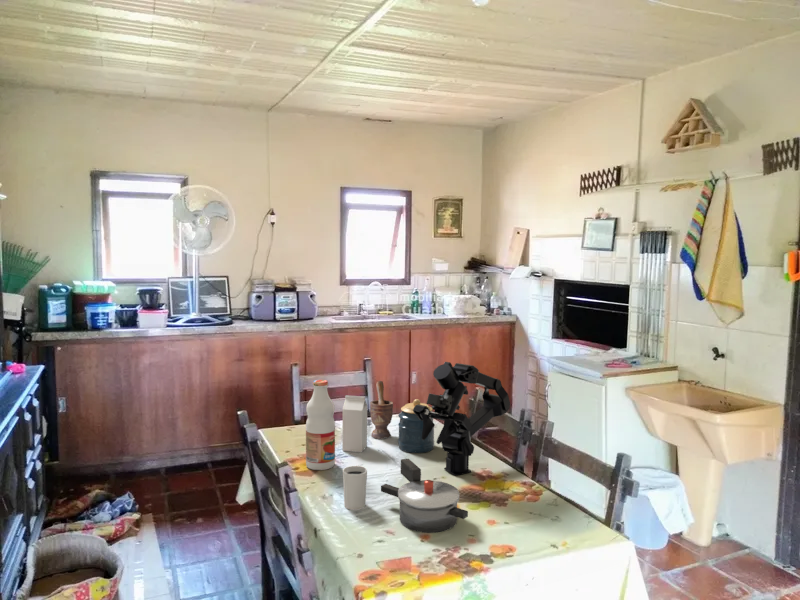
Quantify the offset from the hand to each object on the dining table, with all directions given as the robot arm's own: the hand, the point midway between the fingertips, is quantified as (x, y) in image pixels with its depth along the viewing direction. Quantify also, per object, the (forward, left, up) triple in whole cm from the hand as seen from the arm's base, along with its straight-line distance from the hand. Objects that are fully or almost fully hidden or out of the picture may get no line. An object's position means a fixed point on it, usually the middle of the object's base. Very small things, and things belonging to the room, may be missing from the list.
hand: (430, 441), depth 178 cm
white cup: (+26, +2, -14) cm, 29 cm away
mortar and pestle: (-9, -51, -14) cm, 53 cm away
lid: (+12, +15, -7) cm, 20 cm away
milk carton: (+6, -41, -14) cm, 43 cm away
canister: (-14, -32, -14) cm, 37 cm away
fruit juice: (+23, -31, -14) cm, 41 cm away
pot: (+13, +17, -14) cm, 26 cm away
